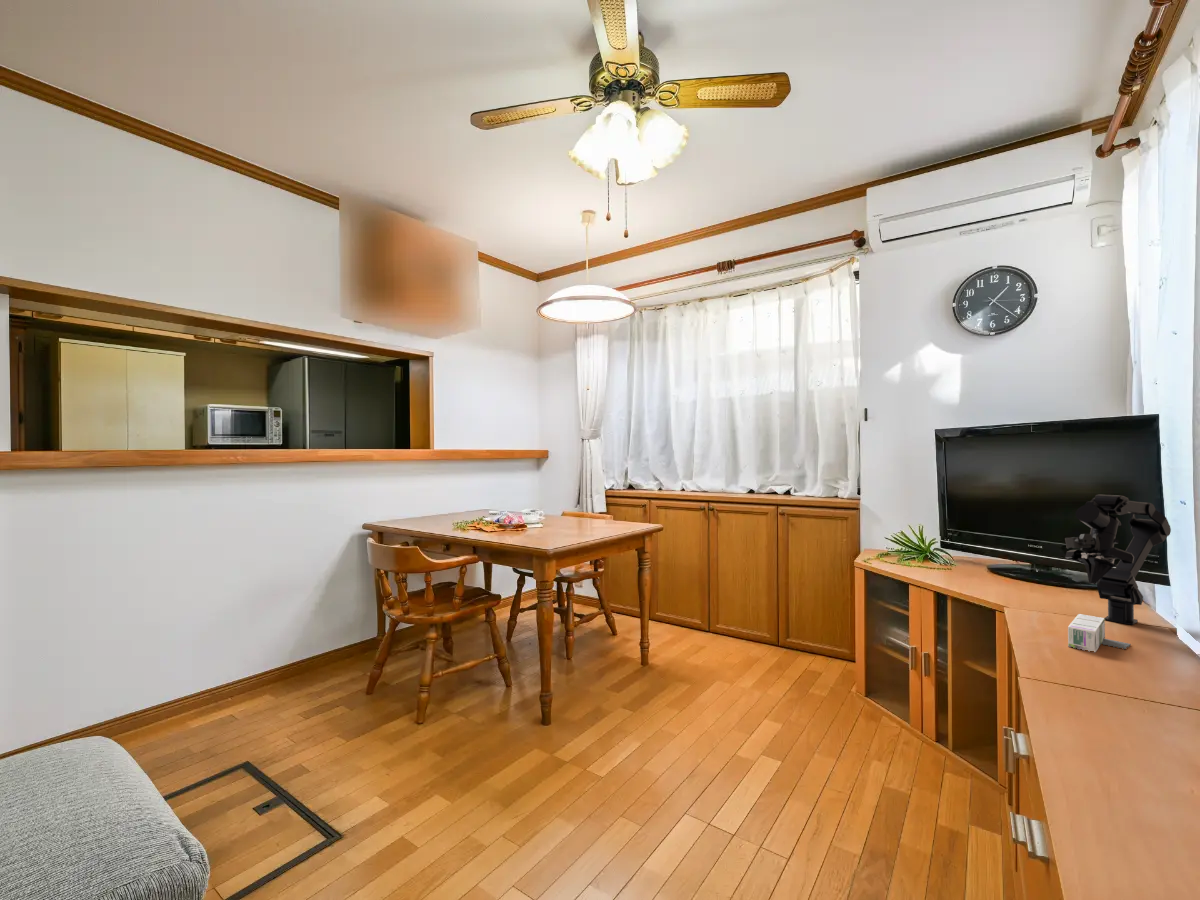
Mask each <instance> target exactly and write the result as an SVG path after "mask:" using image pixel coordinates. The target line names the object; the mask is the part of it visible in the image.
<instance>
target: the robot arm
mask: <svg viewBox="0 0 1200 900" xmlns="http://www.w3.org/2000/svg"><path fill="white" fill-rule="evenodd" d="M1127 514H1130V518H1129V519H1128V520H1127V523H1128V526H1129V528H1130V532H1131V534H1132V536H1133V537H1132V539H1131V541H1130V542H1129V544H1128V546H1127V547H1126V549H1125V550H1123V549H1120V548H1118V547H1115V545H1117V544H1119V542H1120V540H1119V539H1116V536H1117V534H1118V533H1117V532H1118V529H1119V526H1122V523H1121V521H1120V520H1119V518H1118V517H1117V516H1114V515H1119V516H1122V515H1127ZM1136 515H1138V516H1148V517H1149V518H1150V519H1147V518H1146V519H1144V518H1136ZM1075 517H1076V519H1077V520H1079V521H1080V522H1082V523H1083V524H1084V525H1086V526H1087V527H1089V528H1090V530H1089V531H1090V532H1089V533H1080V535H1079V536H1077V537H1075V536H1073V537H1065V538H1064V541H1065V546H1066V547H1065V548H1066V549H1069V550H1068V551H1066V553H1065V556H1064V557H1065V559H1067V560H1071V561H1073V562H1075V563H1076V562H1077V563H1079V564H1082V565H1084V566H1085V569H1086V570H1085V571H1086V574H1087V575H1086V576H1087V580H1088V583H1089V584H1091V585H1096V586H1097V587H1096V588H1097V591H1098V596H1099V599H1102V600H1103V599H1104V600H1107V616H1106V617H1104V618H1105V621H1108V622H1115V623H1119V624H1125V625H1131V626H1132V625H1133V626H1134V625H1135V624H1137V621H1138V619H1135V617H1134V616H1135V613H1134V612H1135V611H1134V610H1135V609H1134V607H1135V606H1136V605H1138V606H1142V604H1143V601H1144V596H1143V594H1142V593H1141V591H1140V590H1139V586H1138V584H1137V582H1136V576H1137V575H1138V574H1139V571H1140V569H1141V568H1142V566H1143V565H1144V563H1145V561H1146V559H1147V557H1148V556H1149V554H1150V552H1151V550H1152V548H1154V546H1157V545H1159V544H1162V543H1163V542H1165V540H1166V539H1167V537H1169V536H1170V535H1171V532H1172V528H1171V525H1170V523H1169V520H1168V518H1167V517H1166V516H1165V515H1163V514H1162V513H1161V512H1160V511H1158V509H1157V510H1156V508H1155V505H1154V504H1153V503H1151V502H1143V501H1134V500H1130V499H1129V497H1126V496H1124V495H1116V494H1115V495H1114V494H1096V495H1094V497H1092V499H1091V500H1090V501H1086V503H1085V504H1084V505H1081V506H1079V507H1078V508H1077V510H1075ZM1079 549H1080V550H1079ZM1115 560H1119V561H1118V563H1117V564H1116V563H1115ZM1114 567H1115V568H1114Z"/></svg>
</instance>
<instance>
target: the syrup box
mask: <svg viewBox="0 0 1200 900" xmlns="http://www.w3.org/2000/svg"><path fill="white" fill-rule="evenodd" d="M1105 625H1106V620H1105V617H1100V616H1099V617H1098V616H1094V615H1089V614H1088V615H1087V614H1081V613H1078V614H1077V615H1076V617H1074V618H1073V620H1072V621H1071V622H1070V623H1069V625H1068V626H1067V640H1068V641H1067V643H1068V644H1067V647H1069V648H1071V647H1073V648H1072V649H1076V648H1077V650H1080V649H1082V650H1081V651H1085V650H1088V651H1087V652H1090V651H1094V652H1093V653H1096V652H1097V651H1098V649H1099V648H1100V646H1101V643H1102V641H1103V640H1104V639H1106V627H1105Z"/></svg>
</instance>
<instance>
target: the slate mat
mask: <svg viewBox="0 0 1200 900" xmlns="http://www.w3.org/2000/svg"><path fill="white" fill-rule="evenodd" d="M1101 644H1103V645H1102V646H1105V645H1108V646H1107V647H1110V646H1113V647H1112V648H1115V647H1118V648H1117V649H1119V648H1123V649H1122V650H1124V649H1126V648H1127V647H1128V648H1129V647H1131V646H1130V645H1132V644H1131V643H1128V642H1124V641H1119V640H1113V639H1109V638H1104V640H1103V641H1102V643H1101ZM1101 644H1100V645H1101ZM1128 648H1127V649H1128ZM1127 649H1126V650H1127Z"/></svg>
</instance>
